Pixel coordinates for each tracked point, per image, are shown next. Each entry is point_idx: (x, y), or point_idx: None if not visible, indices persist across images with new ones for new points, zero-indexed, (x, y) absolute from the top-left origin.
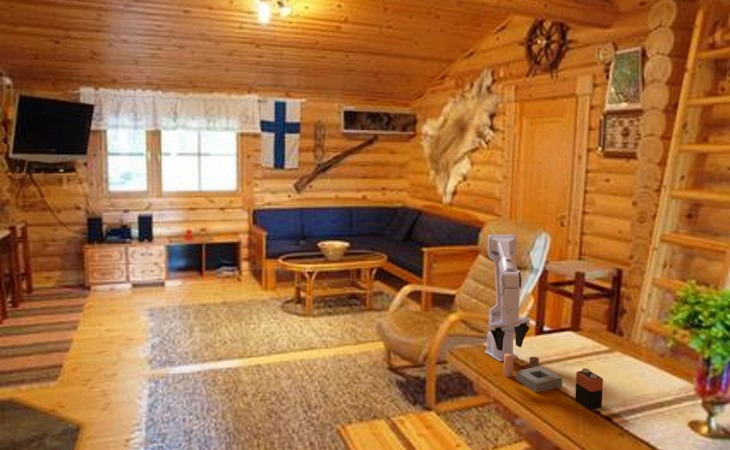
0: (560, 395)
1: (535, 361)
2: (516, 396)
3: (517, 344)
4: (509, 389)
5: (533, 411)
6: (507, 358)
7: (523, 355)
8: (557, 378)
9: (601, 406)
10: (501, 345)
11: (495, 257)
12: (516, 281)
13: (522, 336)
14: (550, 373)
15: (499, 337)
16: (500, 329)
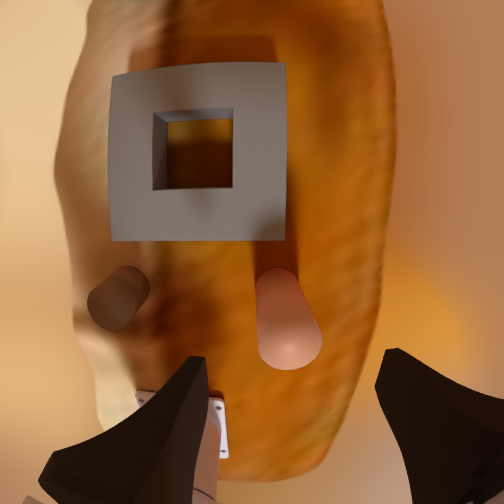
0: (198, 28)
1: (114, 286)
2: (379, 100)
3: (205, 390)
4: (368, 163)
5: (381, 2)
6: (314, 320)
7: (109, 393)
8: (139, 73)
9: None
10: (422, 367)
11: None
12: None
13: (168, 420)
14: (126, 136)
15: (498, 399)
16: (484, 484)
